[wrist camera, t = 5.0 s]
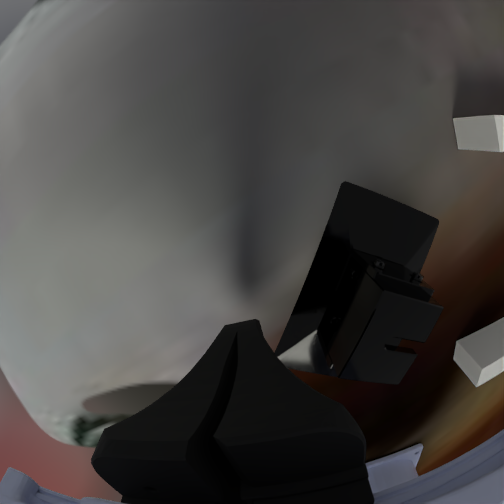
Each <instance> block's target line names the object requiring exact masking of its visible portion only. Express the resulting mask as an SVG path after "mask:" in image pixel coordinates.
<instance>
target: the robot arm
mask: <svg viewBox="0 0 504 504" xmlns="http://www.w3.org/2000/svg"><path fill="white" fill-rule="evenodd" d="M422 450H423V445H422V444H421V443H420V444H417V445H414V446H412V447H409V448H407V449H404V450H402V451H399V452H397V453H394V454H391V455H388V456H386V457H383V458H380V459H377V460H374V461H371V462H368V463H365V459H366V440H365V437H364V435H363V433H362V431H361V429H360V427H359V426H358V424H357V423H356V421H355V420H354V418H353V417H352V416H351V414H350V413H349V412H348V411H347V409H346V408H345V407H344V406H343V405H342V404H340V403H338V402H336V401H334V400H332V399H330V398H328V397H326V396H324V395H322V394H321V393H319V392H317V391H316V390H314V389H312V388H311V387H310V386H308V385H307V384H306V383H304V382H303V381H302V380H300V379H299V378H298V377H296V376H295V375H294V374H293V373H292V372H291V371H290V370H289V369H288V368H287V367H286V366H285V365H284V364H283V363H282V362H281V361H280V360H279V358H278V357H277V356H276V355H275V353H274V352H273V351H272V349H271V348H270V346H269V345H268V343H267V341H266V340H265V338H264V336H263V332H262V329H261V325H260V322H259V320H257V319H253V320H248V321H243V322H239V323H234V324H229V325H225V326H224V327H223V329H222V330H221V332H220V333H219V334H218V336H217V337H216V339H215V340H214V342H213V343H212V345H211V346H210V347H209V349H208V350H207V351H206V353H205V354H204V355H203V356H202V358H201V359H200V360H199V361H198V362H197V364H196V365H195V366H194V367H193V368H192V370H191V371H190V372H189V373H188V374H187V375H186V376H185V377H184V378H183V379H182V380H181V381H180V382H179V383H178V384H177V385H176V386H174V388H172V389H171V390H170V391H168V392H167V393H166V394H164V395H163V396H162V397H161V398H159V399H158V400H157V401H155V402H154V403H153V404H151V405H149V406H148V407H146V408H145V409H143V410H142V411H140V412H138V413H136V414H135V415H133V416H131V417H129V418H127V419H125V420H123V421H121V422H119V423H117V424H114V425H112V426H110V427H108V428H105V429H104V431H103V433H102V435H101V437H100V440H99V442H98V444H97V447H96V449H95V452H94V454H93V456H92V458H91V464H92V465H93V467H94V469H95V471H96V472H97V473H98V474H99V475H100V477H102V478H103V479H104V480H105V481H106V482H107V483H108V484H109V485H111V486H112V487H113V488H114V489H115V490H116V491H118V492H119V493H120V494H121V495H123V496H122V500H121V503H120V502H115V501H110V500H105V499H101V498H92V497H85V498H82V499H81V500H79V499H76V498H73V497H69V496H66V495H63V494H60V493H57V492H54V491H51V490H49V489H46V488H43V487H41V486H39V485H38V484H37V483H36V482H35V481H34V480H33V479H32V478H30V477H29V476H27V475H26V474H24V473H22V472H20V471H18V470H16V469H13V468H11V467H9V468H8V470H7V472H6V473H5V475H4V477H3V479H2V481H1V483H0V504H504V430H502V431H501V432H499V433H498V434H496V435H495V436H493V437H492V438H490V439H489V440H487V441H486V442H484V443H482V444H481V445H479V446H477V447H476V448H474V449H472V450H471V451H469V452H467V453H465V454H464V455H462V456H460V457H458V458H456V459H454V460H453V461H451V462H449V463H447V464H445V465H443V466H441V467H439V468H437V469H434V470H432V471H430V472H428V473H426V474H424V475H421V476H418V474H417V471H416V469H415V468H416V465H417V463H418V460H419V458H420V455H421V452H422Z"/></svg>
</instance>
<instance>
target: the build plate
mask: <svg viewBox="0 0 504 504" xmlns="http://www.w3.org/2000/svg"><path fill="white" fill-rule="evenodd" d="M438 225H439V220H438V219H436V218H434V217H432V216H430V215H427V214H425V213H423V212H421V211H419V210H416V209H414V208H412V207H409V206H407V205H405V204H402V203H400V202H398V201H395V200H393V199H390V198H388V197H385V196H383V195H381V194H378V193H375V192H373V191H370V190H368V189H365V188H363V187H360V186H357V185H355V184H352V183H349V182H346V181H345V182H343V183H342V184H341V186H340V189H339V192H338V195H337V198H336V201H335V203H334V206H333V209H332V212H331V215H330V217H329V220H328V223H327V226H326V228H325V231H324V234H323V236H322V239H321V242H320V244H319V247H318V250H317V252H316V255H315V257H314V260H313V262H312V265H311V268H310V270H309V273H308V275H307V278H306V280H305V283H304V285H303V288H302V290H301V292H300V295H299V297H298V300H297V302H296V304H295V307H294V309H293V312H292V314H291V316H290V319H289V321H288V323H287V326H286V328H285V330H284V333H283V335H282V337H281V339H280V342H279V344H278V346H277V348H276V351H275V355H276V356H277V357H278V358H279V360H280V361H281V362H282V363H283V364H284V365H285V366H286V367H287V368H291V369H296V370H301V371H306V372H312V373H317V374H323V375H329V376H335V377H338V378H341V379H349V380H357V381H365V382H374V383H384V384H395V385H398V384H399V383H400V381H401V380H402V378H403V377H404V375H405V374H406V372H407V371H408V369H409V368H410V366H411V365H412V363H413V361H414V360H415V358H416V357H417V354H416V353H415V351H414V350H413V349H411V348H405V347H399V346H398V345H399V343H400V342H401V340H402V339H406V340H411V341H417V342H422V343H425V342H426V340H427V338H428V336H429V335H430V333H431V331H432V329H433V327H434V326H435V324H436V322H437V320H438V318H439V316H440V314H441V312H442V310H443V306H442V305H440V304H439V303H438V302H437V301H436V300H435V299H434V298H433V297H431V296H432V294H433V292H434V289H433V288H432V287H430V286H429V285H428V284H427V283H426V282H424V281H423V280H422V279H423V277H424V276H423V275H421V274H420V271H421V269H422V266H423V264H424V262H425V259H426V257H427V254H428V252H429V249H430V247H431V244H432V241H433V239H434V236H435V233H436V231H437V228H438Z"/></svg>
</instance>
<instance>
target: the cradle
mask: <svg viewBox="0 0 504 504" xmlns="http://www.w3.org/2000/svg"><path fill="white" fill-rule="evenodd" d="M453 123H454V128H455V134H456V139H457V145H458V149H462V150H479V151H492V152H504V115H485V116H472V117H462V118H453ZM453 360H454V361H455V362H456V363H457V364H458V366H459V367H460V368H461V369H462V370H463V372H464V373H465V374H466V375H467V377H468V378H469V379H470V380H471V382H472V383H473V384H474V385H475V387H478V386H480V385H482V384H483V383H485V382H487V381H488V380H490V379H492V378H493V377H495V376H497V375H498V374H500V373H501V372H503V371H504V317H503V318H501V319H499V320H498V321H496V322H494V323H492V324H490V325H488V326H486V327H484V328H482V329H480V330H478V331H476V332H474V333H472V334H470V335H468V336H466V337H464V338H462V339H460V340H458V341H456V347H455V352H454V357H453Z"/></svg>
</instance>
